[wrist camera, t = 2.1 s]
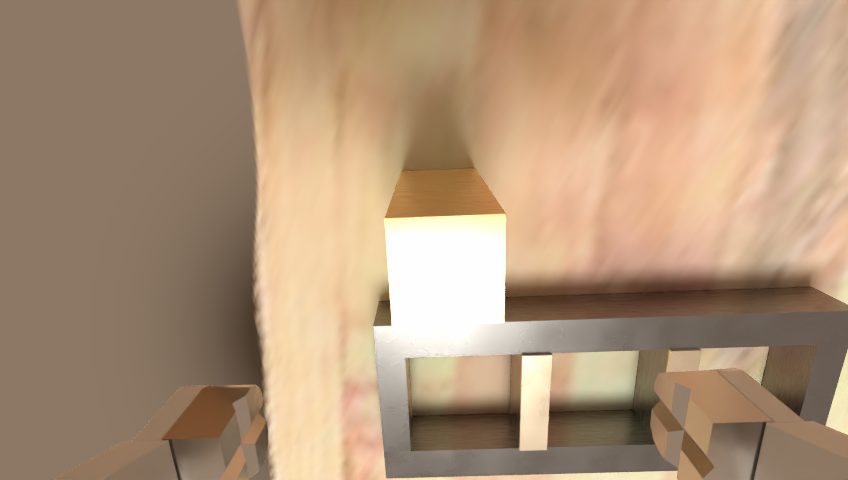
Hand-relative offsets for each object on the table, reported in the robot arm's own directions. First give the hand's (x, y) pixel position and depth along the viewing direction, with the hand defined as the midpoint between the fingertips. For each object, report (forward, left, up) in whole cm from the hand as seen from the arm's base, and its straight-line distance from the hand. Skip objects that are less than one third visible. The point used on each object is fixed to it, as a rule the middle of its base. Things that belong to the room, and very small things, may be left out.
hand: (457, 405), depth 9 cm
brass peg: (0, 0, -16) cm, 16 cm away
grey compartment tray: (+11, +9, -16) cm, 21 cm away
